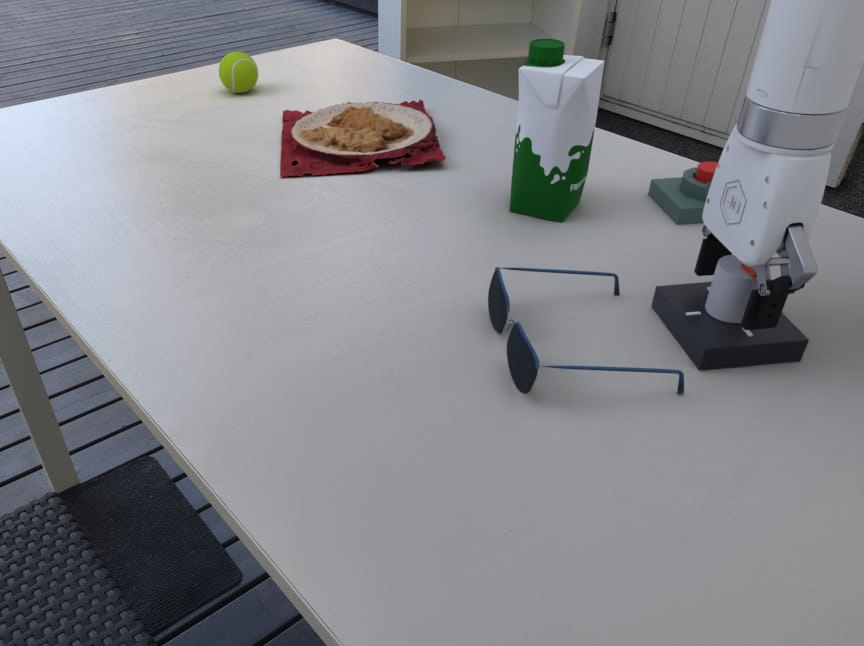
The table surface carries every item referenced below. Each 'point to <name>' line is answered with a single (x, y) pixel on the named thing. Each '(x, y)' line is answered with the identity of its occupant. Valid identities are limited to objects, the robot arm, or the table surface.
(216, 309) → the table surface
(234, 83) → the tennis ball
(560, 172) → the milk carton
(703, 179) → the power button
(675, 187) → the green button base
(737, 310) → the temp dial
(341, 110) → the plate with food
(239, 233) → the table surface
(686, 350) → the dial panel
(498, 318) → the sunglasses
